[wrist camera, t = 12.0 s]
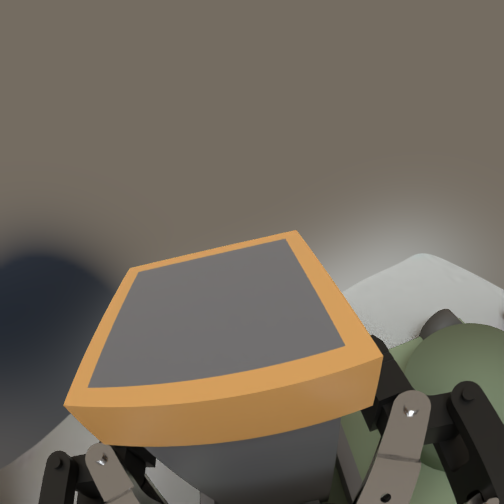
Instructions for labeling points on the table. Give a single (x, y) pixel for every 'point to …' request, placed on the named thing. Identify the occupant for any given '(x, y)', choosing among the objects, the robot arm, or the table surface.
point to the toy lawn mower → (430, 383)
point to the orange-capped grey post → (231, 370)
